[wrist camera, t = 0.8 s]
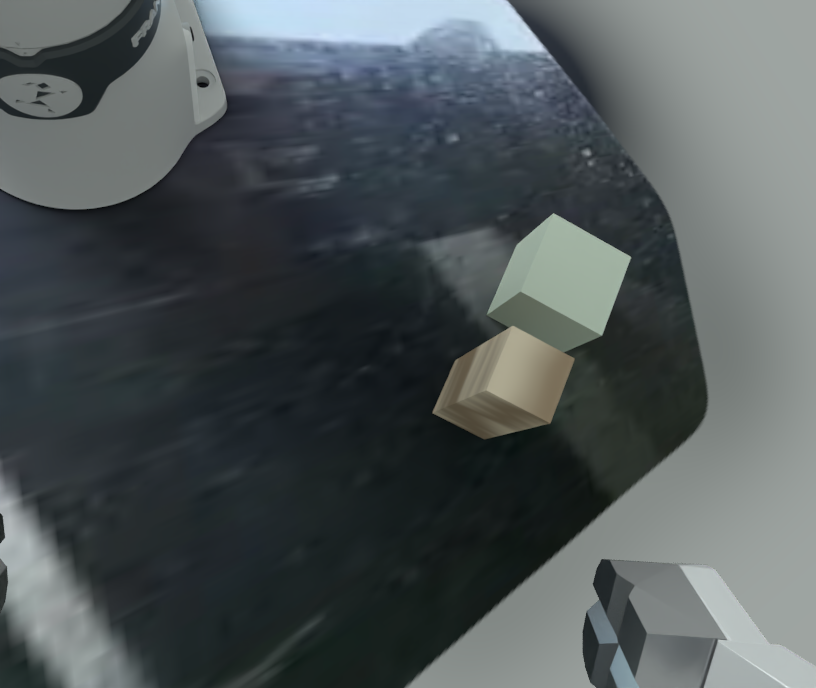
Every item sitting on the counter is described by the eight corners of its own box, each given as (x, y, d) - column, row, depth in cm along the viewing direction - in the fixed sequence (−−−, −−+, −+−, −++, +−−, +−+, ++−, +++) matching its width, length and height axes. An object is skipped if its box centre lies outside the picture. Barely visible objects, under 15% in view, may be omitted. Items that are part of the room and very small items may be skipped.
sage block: (485, 315, 50) (520, 291, 44) (516, 245, 52) (553, 213, 46) (558, 354, 51) (602, 335, 45) (586, 283, 52) (631, 257, 47)
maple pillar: (432, 413, 47) (486, 389, 38) (455, 360, 48) (512, 325, 39) (484, 439, 48) (550, 423, 38) (505, 386, 49) (574, 358, 39)
